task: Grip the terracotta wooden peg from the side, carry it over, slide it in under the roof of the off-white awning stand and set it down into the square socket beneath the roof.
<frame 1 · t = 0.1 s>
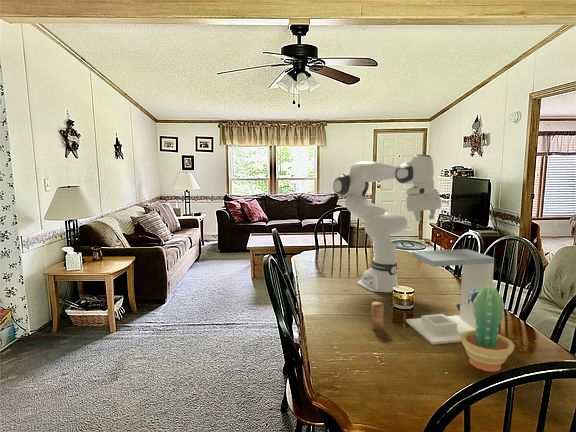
hand: (425, 220, 169), 39 cm above the table, tool pointing down, fingers open, 8 cm apart
awning socket: (438, 329, 144), on the table
peg: (377, 328, 145), on the table
phone: (469, 313, 160), on the table
potted cactus: (484, 364, 119), on the table
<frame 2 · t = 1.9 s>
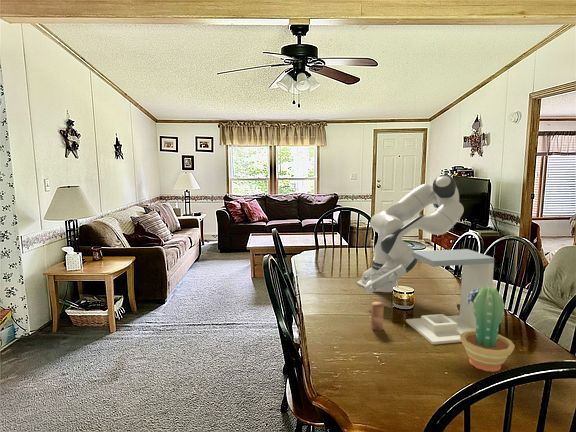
hand: (381, 284, 158), 13 cm above the table, tool horizontal, fingers open, 8 cm apart
nothing on the table moved.
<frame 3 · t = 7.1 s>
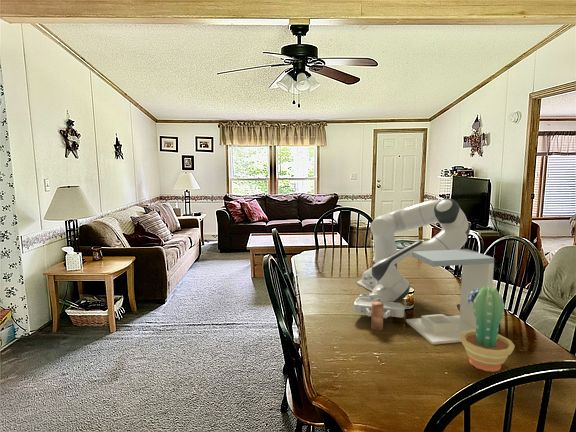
hand: (377, 315, 144), 6 cm above the table, tool horizontal, fingers closed on peg, 4 cm apart
peg: (377, 328, 145), on the table, touching gripper
everything else where it was.
when the fingers open (8 cm above the table, at t = 15.4 s): peg drops 1 cm, resting on awning socket.
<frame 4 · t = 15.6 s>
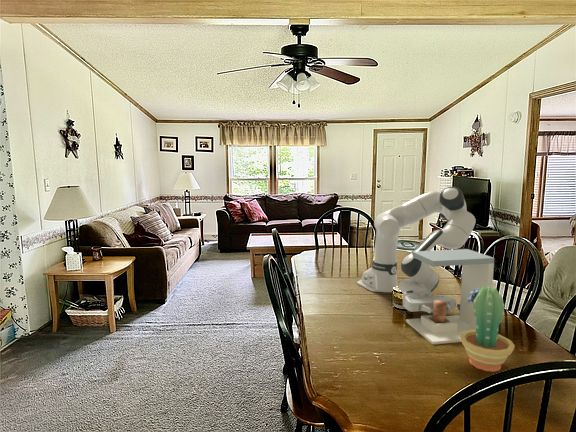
hand: (440, 310, 142), 8 cm above the table, tool horizontal, fingers open, 6 cm apart
peg: (438, 326, 144), point 1 cm above the table, touching awning socket
everything else where it was.
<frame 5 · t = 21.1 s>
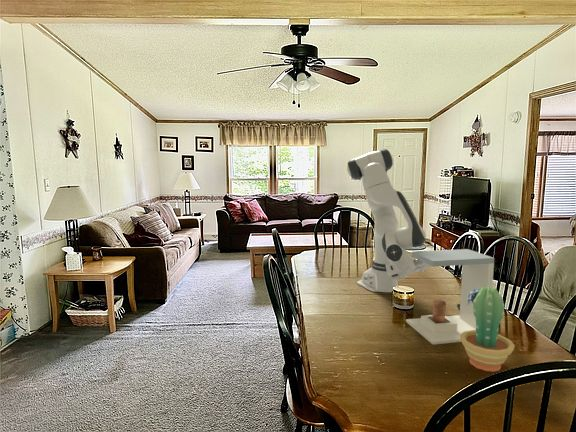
hand: (412, 273, 178), 12 cm above the table, tool tilted 60°, fingers open, 8 cm apart
nothing on the table moved.
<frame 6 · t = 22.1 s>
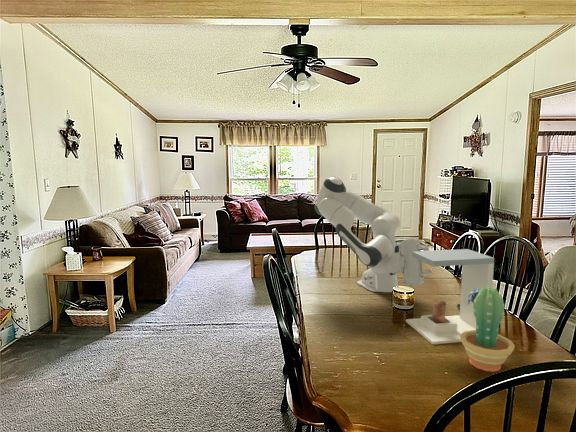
hand: (429, 259, 155), 24 cm above the table, tool pointing upward, fingers open, 8 cm apart
nothing on the table moved.
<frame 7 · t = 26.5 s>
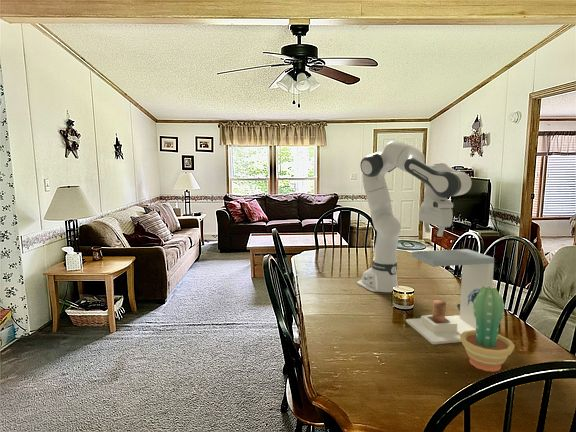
hand: (433, 234, 159), 34 cm above the table, tool pointing down, fingers open, 8 cm apart
nothing on the table moved.
at the end: peg 0.0 cm off-centre on the awning socket, point 1.0 cm above the awning socket's base; peg tilted 0°; the gripper is holding nothing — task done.
